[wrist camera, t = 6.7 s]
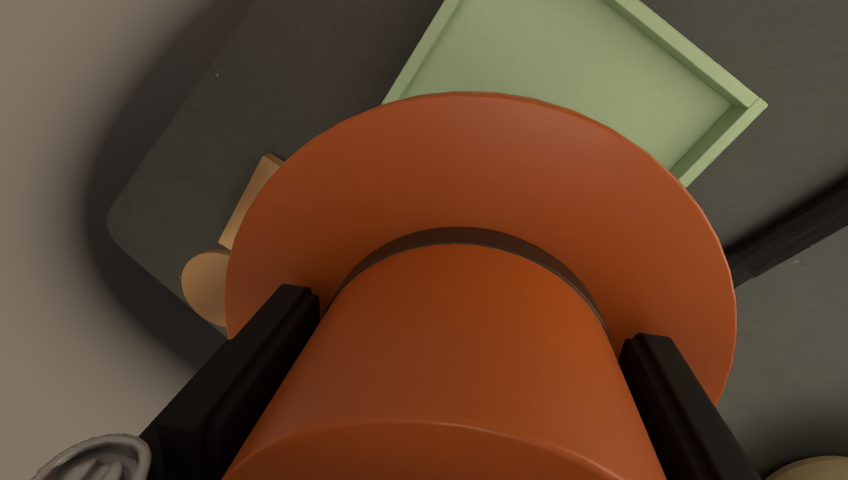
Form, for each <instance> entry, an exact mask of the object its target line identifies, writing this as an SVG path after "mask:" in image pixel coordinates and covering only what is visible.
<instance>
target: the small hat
mask: <svg viewBox="0 0 848 480" xmlns="http://www.w3.org/2000/svg"><path fill="white" fill-rule="evenodd" d="M282 284H291V285H298V286H305V287H310V288H311V291H312V294H314V295H318V296H319V301H320V323H319V325H318V326H317V328H316V329H315V331H314V333H313V334H312V336H311V337H310V339H309V341H308V342H307V344H306V345H305V347H304V349H303V350H302V352H301V353H300V355H299V357H298V358H297V360H296V361H295V363H294V364H293V366H292V368H291V369H290V371H289V372H288V374H287V376H286V377H285V379H284V380H283V382H282V384H281V385H280V387H279V388H278V390H277V392H276V393H275V395H274V396H273V398H272V400H271V401H270V403H269V404H268V406H267V407H266V409H265V411H264V412H263V414H262V415H261V417H260V419H259V420H258V422H257V423H256V425H255V427H254V428H253V430H252V431H251V433H250V435H249V436H248V438H247V439H246V441H245V442H244V444H243V446H242V447H241V449H240V450H239V452H238V454H237V455H236V457H235V458H234V460H233V462H232V463H231V465H230V466H229V468H228V470H227V471H226V473H225V474H224V476H223V478H222V479H221V480H667V479H666V477H665V474H664V472H663V469H662V467H661V465H660V462H659V460H658V457H657V455H656V453H655V450H654V448H653V445H652V443H651V441H650V438H649V436H648V433H647V431H646V429H645V426H644V424H643V421H642V419H641V416H640V414H639V412H638V409H637V407H636V404H635V402H634V400H633V397H632V395H631V392H630V390H629V388H628V385H627V383H626V380H625V378H624V376H623V373H622V371H621V368H620V366H619V364H618V359H619V356H620V353H621V349H622V346H623V343H624V341H625V340H626V339H627V338H630V339H633V338H634V336H635V335H636V334H637V333H647V334H654V335H661V336H667V337H670V338H671V339H672V340H673V342H674V343H675V345H676V346H677V348H678V350H679V351H680V353H681V354H682V356H683V357H684V359H685V361H686V362H687V364H688V365H689V367H690V368H691V370H692V372H693V373H694V375H695V376H696V378H697V380H698V381H699V383H700V384H701V386H702V387H703V389H704V391H705V392H706V394H707V395H708V397H709V398H710V400H711V402H712V403H713V405H714V406H715V407H716V405H717V403H718V401H719V399H720V397H721V395H722V393H723V390H724V387H725V384H726V381H727V378H728V375H729V372H730V369H731V366H732V361H733V355H734V349H735V343H736V337H737V317H736V298H735V293H734V288H733V282H732V277H731V271H730V268H729V265H728V263H727V260H726V257H725V255H724V252H723V249H722V246H721V244H720V241H719V238H718V237H717V235H716V233H715V231H714V230H713V228H712V226H711V224H710V223H709V221H708V219H707V217H706V216H705V214H704V212H703V210H702V209H701V207H700V206H699V205H698V203H697V202H696V201H695V200H694V199H693V197H692V196H691V195H690V194H689V192H688V191H687V190H686V189H685V187H684V186H683V185H682V184H681V182H680V181H679V180H678V179H677V178H676V177H675V176H674V175H673V174H672V173H671V172H669V171H668V170H667V169H666V168H665V167H664V166H663V165H662V164H661V163H659V162H658V161H657V160H656V159H655V158H654V157H653V156H652V155H651V154H649V153H648V152H647V151H645V150H644V149H642V148H641V147H639V146H638V145H636V144H635V143H633V142H632V141H630V140H629V139H627V138H626V137H624V136H623V135H621V134H619V133H618V132H616V131H615V130H613V129H612V128H610V127H608V126H606V125H604V124H602V123H600V122H598V121H596V120H594V119H591V118H589V117H587V116H585V115H583V114H581V113H579V112H577V111H574V110H572V109H569V108H565V107H562V106H559V105H556V104H552V103H549V102H546V101H543V100H539V99H536V98H531V97H525V96H518V95H512V94H506V93H500V92H482V91H451V92H442V93H433V94H424V95H417V96H413V97H409V98H405V99H401V100H398V101H394V102H390V103H386V104H382V105H380V106H377V107H375V108H372V109H370V110H367V111H365V112H363V113H360V114H358V115H355V116H353V117H351V118H348V119H346V120H344V121H342V122H340V123H338V124H337V125H335V126H333V127H332V128H330V129H328V130H327V131H325V132H323V133H322V134H320V135H318V136H317V137H315V138H313V139H312V140H310V141H309V142H308V143H307V144H305V145H304V146H303V147H302V148H300V149H299V150H298V151H297V152H296V153H294V154H293V155H292V156H291V157H290V158H288V159H287V160H286V161H285V162H284V163H283V164H282V165H281V166H280V167H279V168H278V170H277V171H276V172H275V173H274V174H273V175H272V176H271V177H270V178H269V180H268V181H267V182H266V183H265V184H264V185H263V187H262V188H261V190H260V191H259V193H258V194H257V196H256V197H255V199H254V200H253V202H252V204H251V205H250V207H249V208H248V210H247V211H246V214H245V216H244V218H243V220H242V223H241V225H240V227H239V229H238V232H237V234H236V236H235V239H234V242H233V246H232V250H231V253H230V257H229V261H228V265H227V271H226V280H225V289H224V305H225V323H226V328H227V333H228V339H229V340H230V339H233V338H234V337H235V335H236V334H237V333H238V332H239V331H240V330H241V329H242V328H243V327H244V325H245V324H246V323H247V322H248V321H249V320H250V319H251V318H252V317H253V315H254V314H255V313H256V312H257V311H258V310H259V309H260V308H261V307H262V305H263V304H264V303H265V302H266V301H267V300H268V299H269V298H270V297H271V295H272V294H273V293H274V292H275V291H276V290H277V289H278V288H279V286H281V285H282Z"/></svg>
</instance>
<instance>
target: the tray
mask: <svg viewBox="0 0 848 480" xmlns="http://www.w3.org/2000/svg"><path fill="white" fill-rule="evenodd" d="M451 91H482V92H500V93H506V94H512V95H518V96H525V97H531V98H536V99H539V100H543V101H546V102H549V103H552V104H556V105H559V106H562V107H565V108H569V109H572V110H574V111H577V112H579V113H581V114H583V115H585V116H587V117H589V118H591V119H594V120H596V121H598V122H600V123H602V124H604V125H606V126H608V127H610V128H612V129H613V130H615V131H616V132H618V133H619V134H621V135H623V136H624V137H626V138H627V139H629V140H630V141H632V142H633V143H635V144H636V145H638V146H639V147H641V148H642V149H644V150H645V151H647V152H648V153H649V154H651V155H652V156H653V157H654V158H655V159H656V160H657V161H658V162H659V163H661V164H662V165H663V166H664V167H665V168H666V169H667V170H668V171H669V172H671V173H672V174H673V175H674V176H675V177H676V178H677V179H678V180H679V181H680V182H681V184H682V185H683V186H684V187H685V188H686V187H687V186H688V185H689V184H690V183H691V182H692V181H693V180H694V179H695V178H696V177H697V176H698V175H699V174H700V173H701V172H702V171H703V170H704V169H705V168H706V167H707V166H708V165H709V164H710V163H711V162H712V161H713V160H714V159H715V158H716V157H717V156H718V155H719V154H720V153H721V152H722V151H723V150H724V149H725V148H726V147H727V146H728V145H729V144H730V143H731V142H732V141H733V140H734V139H735V138H736V137H737V136H738V135H739V134H740V133H741V132H742V131H743V130H744V129H745V128H746V127H747V126H748V125H749V124H750V123H751V122H752V121H753V120H754V119H755V118H756V117H757V116H758V115H759V114H760V113H761V112H762V111H763V110H764V109H765V108H766V107H767V106H768V104H767V103H765V102H764V101H763V100H762V99H760V98H758V96H757V95H755V94H754V93H753V92H752V91H751V90H749V89H748V88H747V87H746V86H744V85H743V84H742V83H741V82H739V81H738V80H737V79H736V78H735V77H733V76H732V75H731V74H730V73H728V72H727V71H726V70H725V69H723V68H722V67H721V66H720V65H719V64H717V63H716V62H715V61H714V60H712V59H711V58H710V57H709V56H707V55H706V54H705V53H704V52H703V51H701V50H700V49H699V48H698V47H696V46H695V45H694V44H693V43H691V42H690V41H689V40H688V39H687V38H685V37H684V36H683V35H682V34H680V33H679V32H678V31H677V30H675V29H674V28H673V27H672V26H671V25H669V24H668V23H667V22H666V21H664V20H663V19H662V18H661V17H659V16H658V15H657V14H656V13H655V12H653V11H652V10H651V9H650V8H648V7H647V6H646V5H645V4H643V3H642V2H641V1H640V0H444V2H443V4H442V5H441V7H440V8H439V10H438V12H437V13H436V15H435V17H434V18H433V20H432V22H431V23H430V25H429V26H428V28H427V30H426V31H425V33H424V35H423V36H422V38H421V40H420V41H419V43H418V45H417V46H416V48H415V49H414V51H413V53H412V54H411V56H410V58H409V59H408V61H407V63H406V64H405V66H404V67H403V69H402V71H401V72H400V74H399V76H398V77H397V79H396V81H395V82H394V84H393V85H392V87H391V89H390V90H389V92H388V94H387V95H386V97H385V99H384V100H383V102H382V103H381V105H382V104H386V103H390V102H394V101H398V100H401V99H405V98H409V97H413V96H417V95H424V94H433V93H442V92H451Z"/></svg>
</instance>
